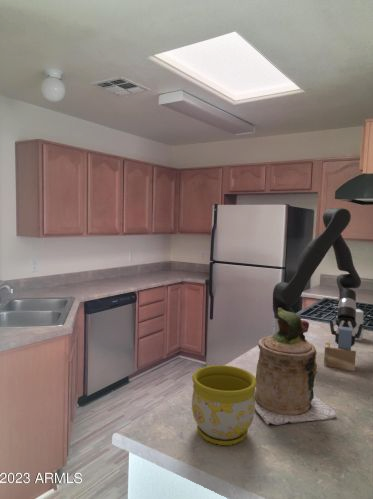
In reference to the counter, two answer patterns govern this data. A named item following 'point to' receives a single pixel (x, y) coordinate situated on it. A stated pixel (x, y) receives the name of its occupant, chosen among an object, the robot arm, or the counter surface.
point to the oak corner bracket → (339, 357)
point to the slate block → (345, 338)
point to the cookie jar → (288, 375)
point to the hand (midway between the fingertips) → (344, 344)
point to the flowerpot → (223, 403)
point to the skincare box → (358, 322)
